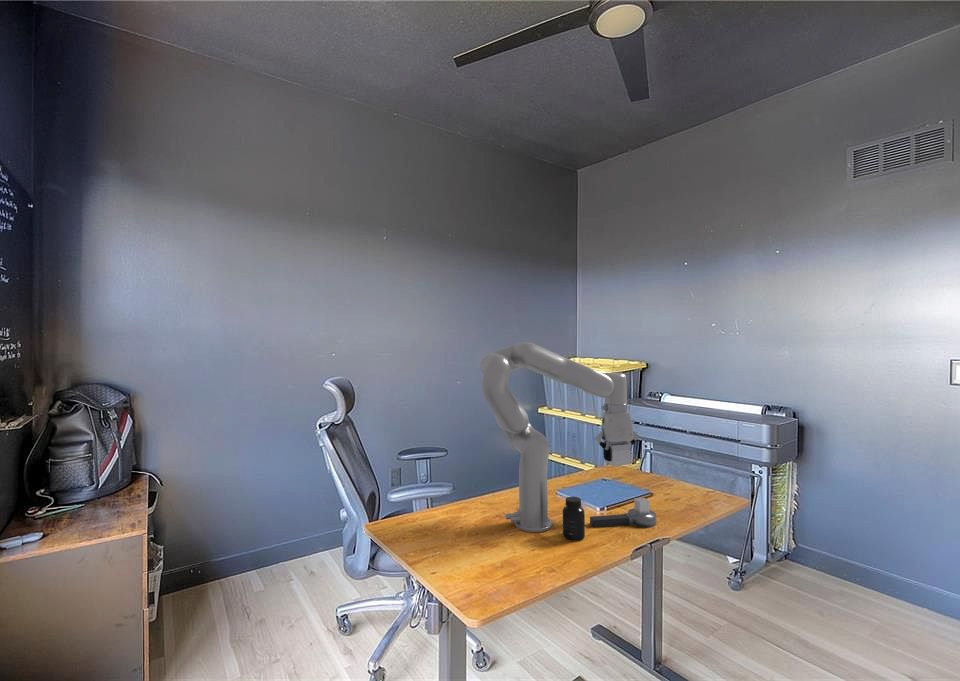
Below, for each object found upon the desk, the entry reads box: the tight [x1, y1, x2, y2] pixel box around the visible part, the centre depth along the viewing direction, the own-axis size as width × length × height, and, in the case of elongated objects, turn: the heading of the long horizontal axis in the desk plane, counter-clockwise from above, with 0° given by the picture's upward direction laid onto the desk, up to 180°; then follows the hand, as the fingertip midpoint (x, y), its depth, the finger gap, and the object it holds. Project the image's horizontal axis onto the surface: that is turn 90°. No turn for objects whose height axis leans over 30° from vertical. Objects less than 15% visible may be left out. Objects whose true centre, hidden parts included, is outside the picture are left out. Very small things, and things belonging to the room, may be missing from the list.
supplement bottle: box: [562, 496, 586, 542], centre depth 144 cm, size 7×7×12 cm
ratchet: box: [589, 497, 657, 528], centre depth 154 cm, size 22×9×8 cm, turn 99°
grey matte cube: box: [602, 440, 632, 467], centre depth 160 cm, size 7×7×7 cm
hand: (617, 459), depth 159 cm, fingers closed on grey matte cube, 6 cm apart
